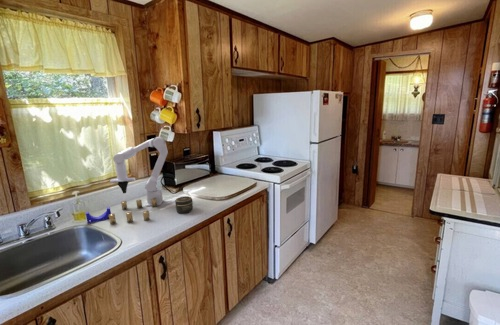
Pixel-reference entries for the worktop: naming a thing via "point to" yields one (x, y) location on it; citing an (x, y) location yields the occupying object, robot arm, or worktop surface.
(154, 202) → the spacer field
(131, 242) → the worktop surface
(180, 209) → the jar
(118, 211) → the worktop surface
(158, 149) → the robot arm
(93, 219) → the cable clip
